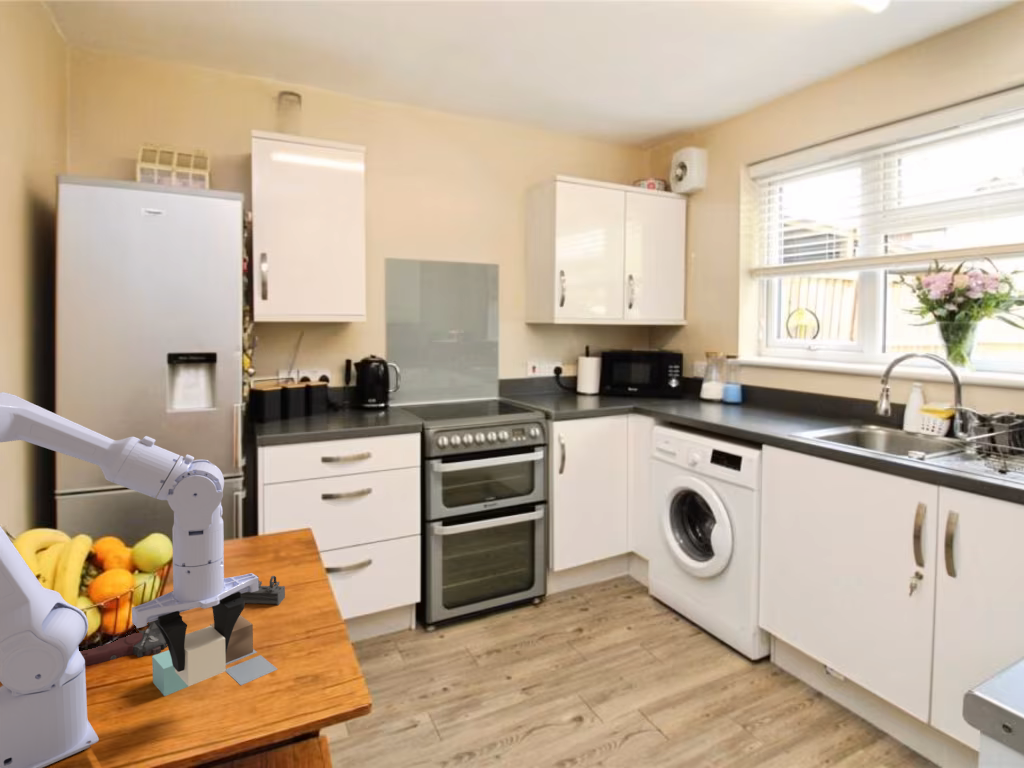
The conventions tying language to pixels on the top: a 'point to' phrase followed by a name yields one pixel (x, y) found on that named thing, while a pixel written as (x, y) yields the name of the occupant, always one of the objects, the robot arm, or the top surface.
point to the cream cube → (203, 655)
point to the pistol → (128, 646)
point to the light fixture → (265, 593)
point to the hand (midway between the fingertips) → (200, 659)
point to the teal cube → (166, 674)
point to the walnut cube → (240, 639)
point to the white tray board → (250, 669)
